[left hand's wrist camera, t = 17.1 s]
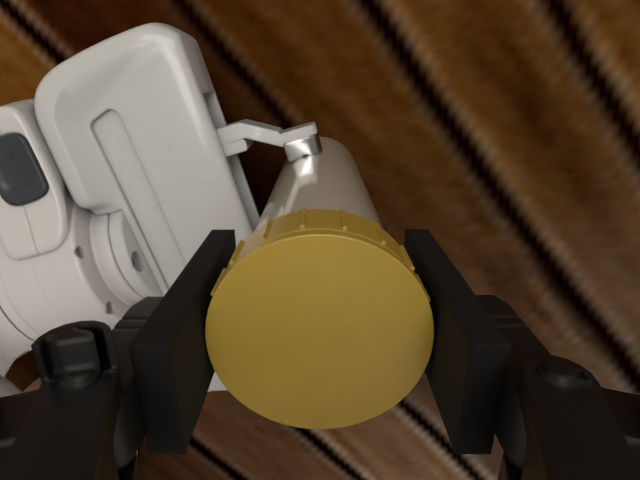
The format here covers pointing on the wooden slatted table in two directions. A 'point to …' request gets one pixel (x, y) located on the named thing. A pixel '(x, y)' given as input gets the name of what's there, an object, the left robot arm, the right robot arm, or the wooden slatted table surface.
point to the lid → (319, 321)
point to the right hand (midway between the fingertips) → (335, 193)
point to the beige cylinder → (320, 185)
